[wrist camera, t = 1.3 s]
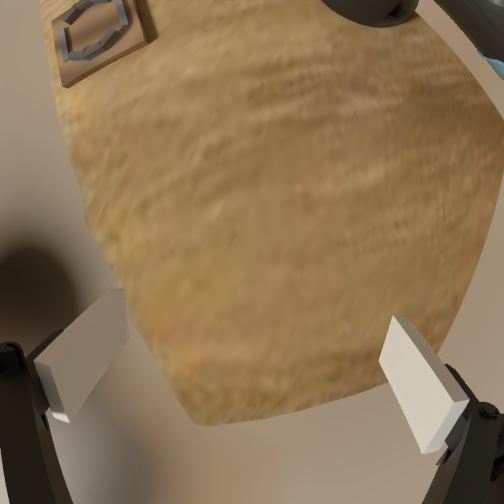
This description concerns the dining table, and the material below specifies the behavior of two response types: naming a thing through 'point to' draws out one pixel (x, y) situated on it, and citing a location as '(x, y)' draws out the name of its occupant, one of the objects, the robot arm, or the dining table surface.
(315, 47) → the dining table surface
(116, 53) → the socket board
